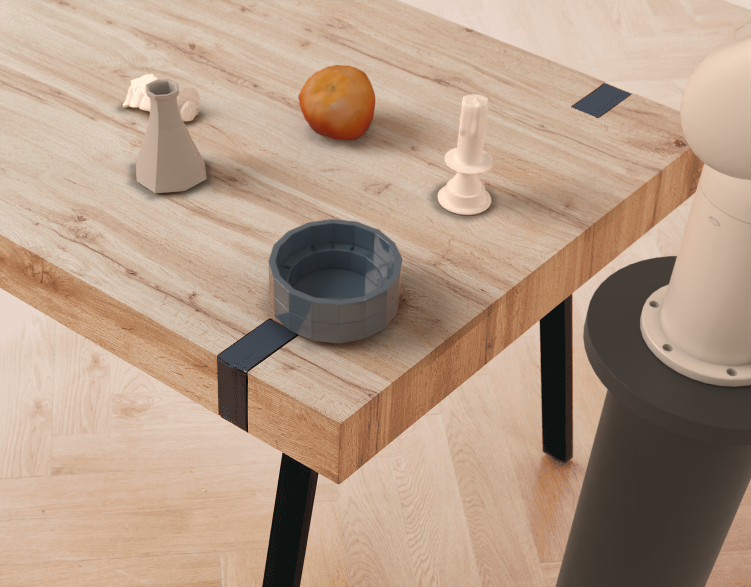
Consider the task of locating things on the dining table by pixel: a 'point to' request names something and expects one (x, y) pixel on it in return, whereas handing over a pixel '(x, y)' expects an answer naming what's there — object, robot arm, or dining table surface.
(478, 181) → the candle
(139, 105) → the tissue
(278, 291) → the bowl
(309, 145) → the dining table surface
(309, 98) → the fruit
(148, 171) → the flask
